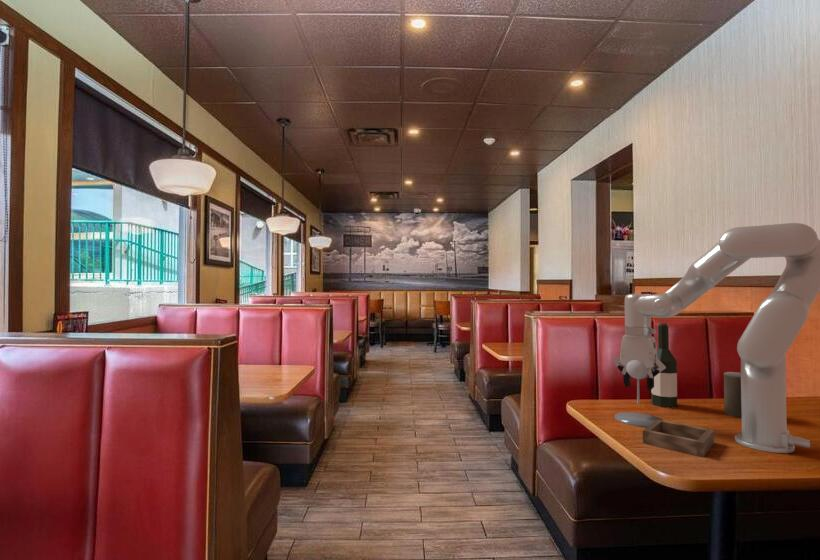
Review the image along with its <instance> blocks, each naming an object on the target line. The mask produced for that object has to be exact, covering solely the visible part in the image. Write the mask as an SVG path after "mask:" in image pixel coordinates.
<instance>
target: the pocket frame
mask: <svg viewBox="0 0 820 560" xmlns="http://www.w3.org/2000/svg"><path fill="white" fill-rule="evenodd" d="M714 443H715V430H714V429H709V428H705V427H698V426H694V425H688V424H683V423H677V422H672V421H667V420H663V419H662V420H658V419H657V420H656V421H654V422H653V423H652V424H650V425H649V426H648V427H644V429H643V430H642V444H645V445H650V446H654V447H658V448H663V449H666V450H670V451H674V452H675V451H676V452H680V453H684V454H688V455H692V456H698V457H701V458H704V457H705V456H706V455H707V453H708V452H709V450H710V449H711V448H712V446H713V445H714Z"/></svg>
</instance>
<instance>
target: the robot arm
mask: <svg viewBox="0 0 820 560" xmlns="http://www.w3.org/2000/svg"><path fill="white" fill-rule="evenodd" d="M753 258H754V259H755V258H756V259H758V258H759V259H760V258H761V259H762V258H785V261H786V264H785V268H784V270H783V272H782V273H781V274H780V276H779V279H778V281H777V283H776V284H775V286H774V287H773V289H772V291H771V292H770V294H769V295H768V296H767V297H765V298H764V299H763V300H762V301H761V302H760V303H759V305H758V308H757V309H756V311H755V312H754V313H753V316H752V317H751V319H750V320H749V322H748V324H747V325H746V328H745V330H744V331H743V333H742V335H741V336H740V338H739V339H738V342H737V345H736V346H737V347H736V351H737V353H738V356H739V358H740V373H741V412H742V418H741V433H737V434H735V436H734V441H735V442H736V443H738V445H742V446H744V447H747V448H750V449H753V450H758V451H761V452H767V453H773V454H774V453H775V454H789V453H790V454H791V453H793V452H795V450H796V447H795V446H800V447H802V448H807V449H810V448H811V440H810V439H805V438H804V437H800V436H794V435H792V434H790V430H789V429H787V428H788V426H787V425H788V424H787V375H786V374H787V372H786V370H787V369H786V368H787V367H786V365H787V362H786V361H787V360H786V358H787V357H786V356H787V352H788V351H789V349H790V348H791V346H792V344H793V343H794V341H795V340H796V338H797V337H798V334H799V333H800V331H801V330H802V328H803V327H804V325H805V323H806V321H807V320H808V317H809V311H810V309H811V307H812V304H813V303H814V301H815V299H816V298H817V297H818V295H819V293H820V239H819V237H818V235H817V231H816V230H814V228H813V227H811V226H809V225H808V224H804V223H798V222H789V223H778V224H776V223H775V224H767V225H766V224H765V225H763V224H762V225H751V226H750V225H749V226H738V227H733V228H730V229H728V230H726V231H724V232H723V233H722V234H721V236H720V238H719V240H718V242H717V243H716V244H715V245H714V246H712V247H711V248H710V249H709V250H707V251H706V252H705V253H704V254H702V255H701V256H700V257H698V259H696V260H695V261H694V262H693V263H692V264H691V265H690V266H689V267H688V268H687V271H686V273H685V274H684V276H682V277H681V279H679V281H678V282H676V283H675V284H674V285H673V286H672V287H671V288H669V289H668V290H667V291H666V292H663V293H654V294H648V293H647V294H646V293H629V294H626V295H625V297H624V335H622V339H621V344H620V346H621V347H620V352H619V353H620V354H619V355H618V356H617V357H616V358H615V359H613V361H612V363H613V365H614V366H615V367H617V369H618V370H619V371H620V372H621V374H622V375H623V378H622V379H623V380H622V381H623V384H624V387H625V388H630V386H631V376H630V375H629V374H628V372H627V370H626V366H627V364H628V362H630V361H632V360H638V361H641V362H642V363H643V364H644V365H645V366H646V368H648V376H647V377H646V390H647V391H651V390H652V388H654V377H655V376H656V375H657V374H659V373H660V372H661V371H663V370H664V369H665V368H666V367H665V365H664V364H663V363H662V362H661V361H660V360H659V359H658V358H657V349H658V348H657V343H656V338H655V336H653V335H655V334H657V329H654V328H653V327H652V317H653V318H661V319H666V318H670V317H674V316H677V315H678V314H680V313H681V312H682V311H684V310H685V309H687V308H688V307H689V306H690V305H692V304H693V303H695V302H696V301H697V300H698V299H699V298H701V297H702V296H703V295H704V294H706V293H707V292H708V291H710V290H712V289H713V288H714V287H715V286H717V285H718V284H719V283H720V282H721V281H722V280H724V279H725V278H726V277H727V276H729V275H730V274H731V273H733V272H734V271H736V270H737V269H738V268H739V267H741V266H742V265H744V264H745V263H746V262H747V261H749V260H750V259H753ZM657 365H658V369H656V370H655V371H654V370H653V367H656V366H657Z"/></svg>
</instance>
